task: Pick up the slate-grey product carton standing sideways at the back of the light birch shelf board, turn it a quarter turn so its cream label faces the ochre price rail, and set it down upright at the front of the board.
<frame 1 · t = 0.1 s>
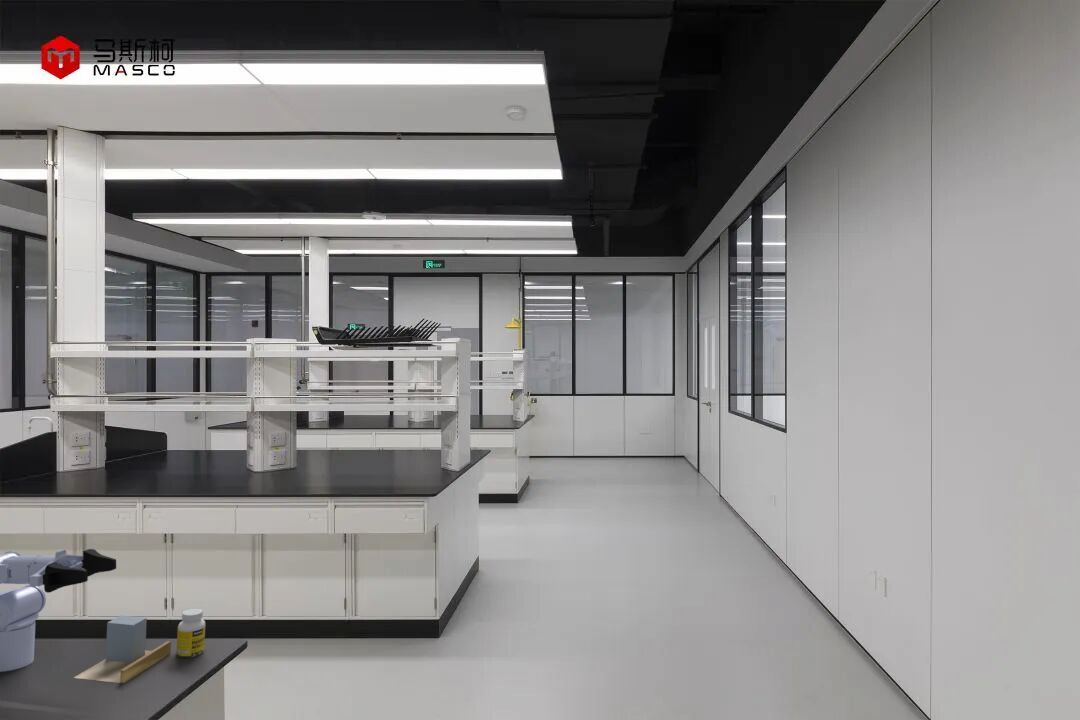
hand: (101, 570, 137), 22 cm above the table, tool horizontal, fingers open, 7 cm apart
supplement bottle: (190, 657, 148), on the table
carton: (125, 657, 144), point 1 cm above the table, touching shelf board
shelf board: (123, 668, 141), on the table
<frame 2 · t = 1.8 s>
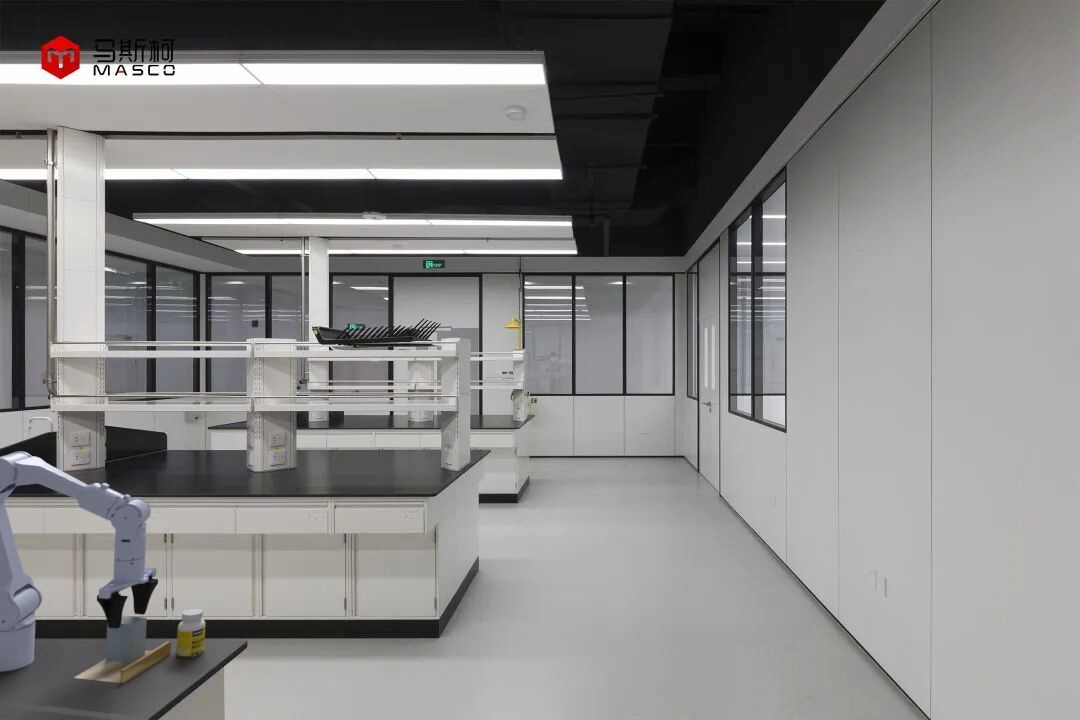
hand: (127, 620, 144), 9 cm above the table, tool pointing down, fingers open, 7 cm apart
nothing on the table moved.
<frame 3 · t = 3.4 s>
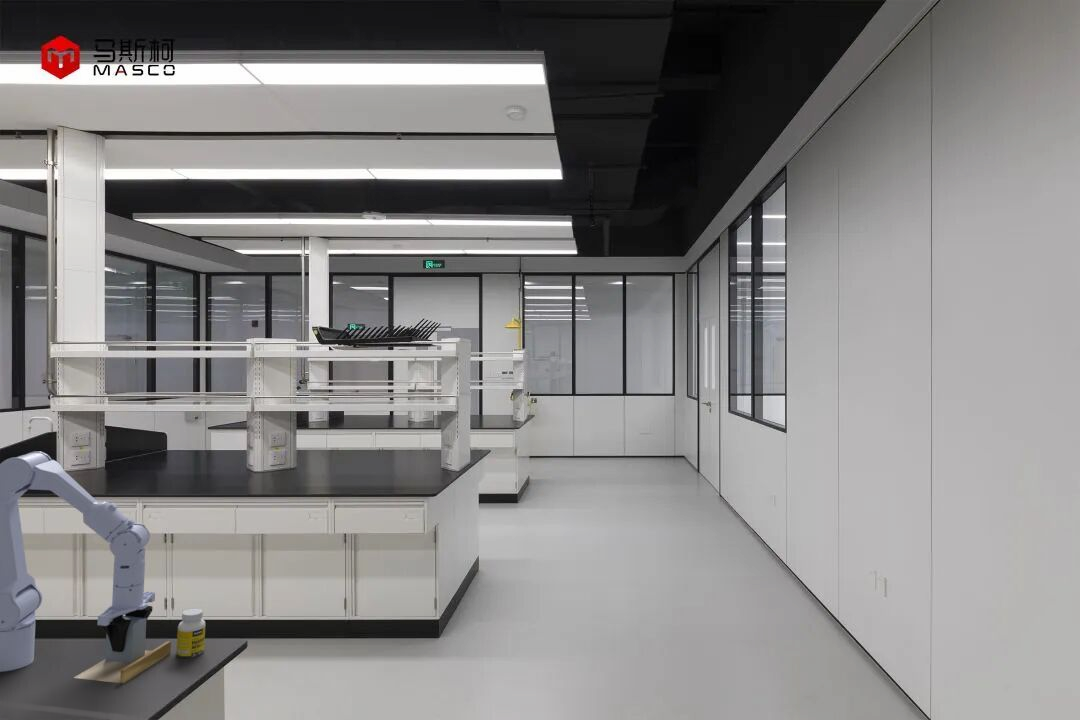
hand: (126, 646, 144), 3 cm above the table, tool pointing down, fingers closed on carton, 4 cm apart
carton: (125, 657, 144), point 1 cm above the table, touching gripper
everything else where it was.
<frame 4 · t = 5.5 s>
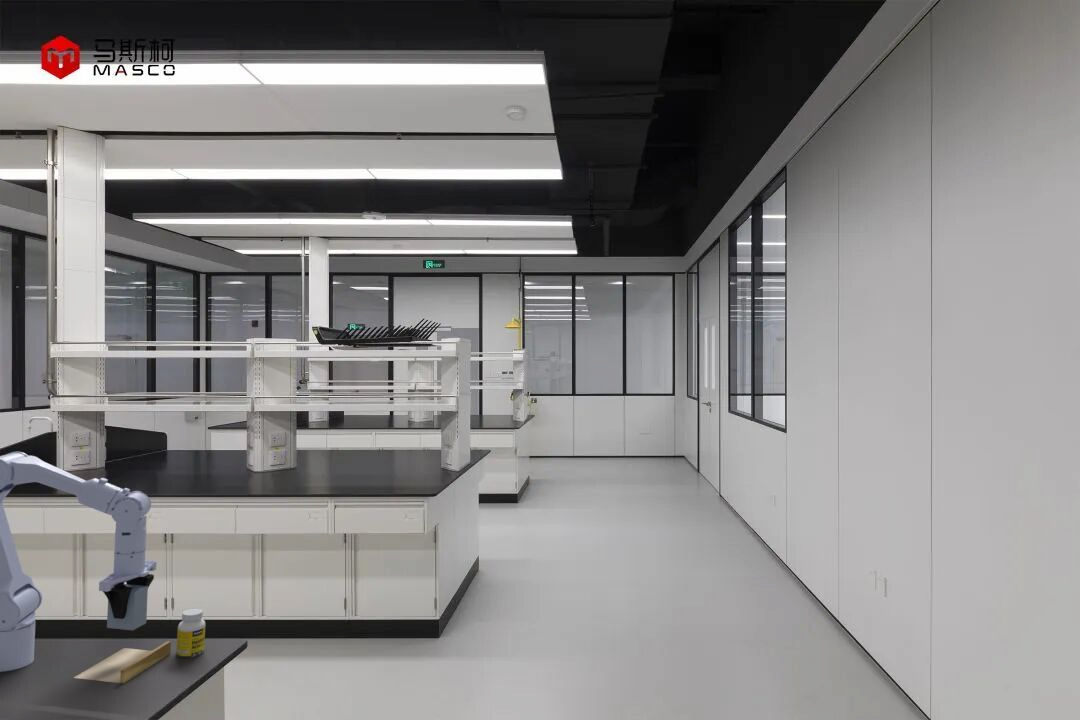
hand: (127, 613, 144), 10 cm above the table, tool pointing down, fingers closed on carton, 4 cm apart
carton: (126, 625, 144), point 8 cm above the table, touching gripper
everything else where it was.
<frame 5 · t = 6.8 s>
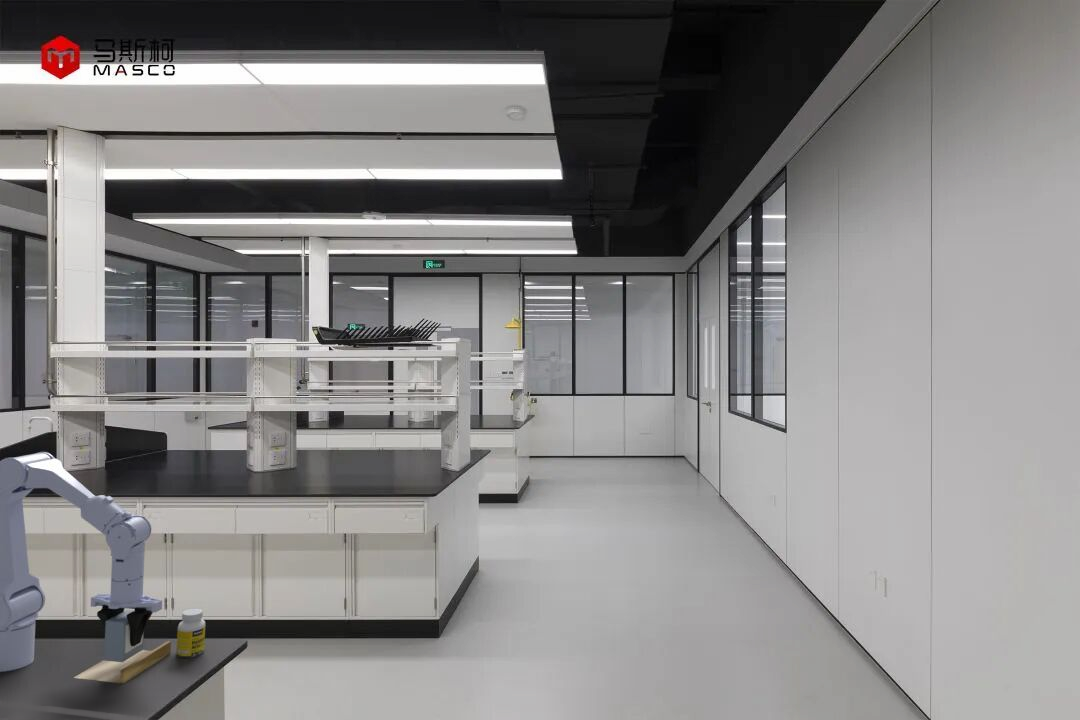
hand: (124, 643, 139), 6 cm above the table, tool pointing down, fingers closed on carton, 4 cm apart
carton: (123, 654, 139), point 4 cm above the table, touching gripper
everything else where it was.
when the fingers open (5 cm above the table, at t = 7.9 s): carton drops 1 cm, resting on shelf board.
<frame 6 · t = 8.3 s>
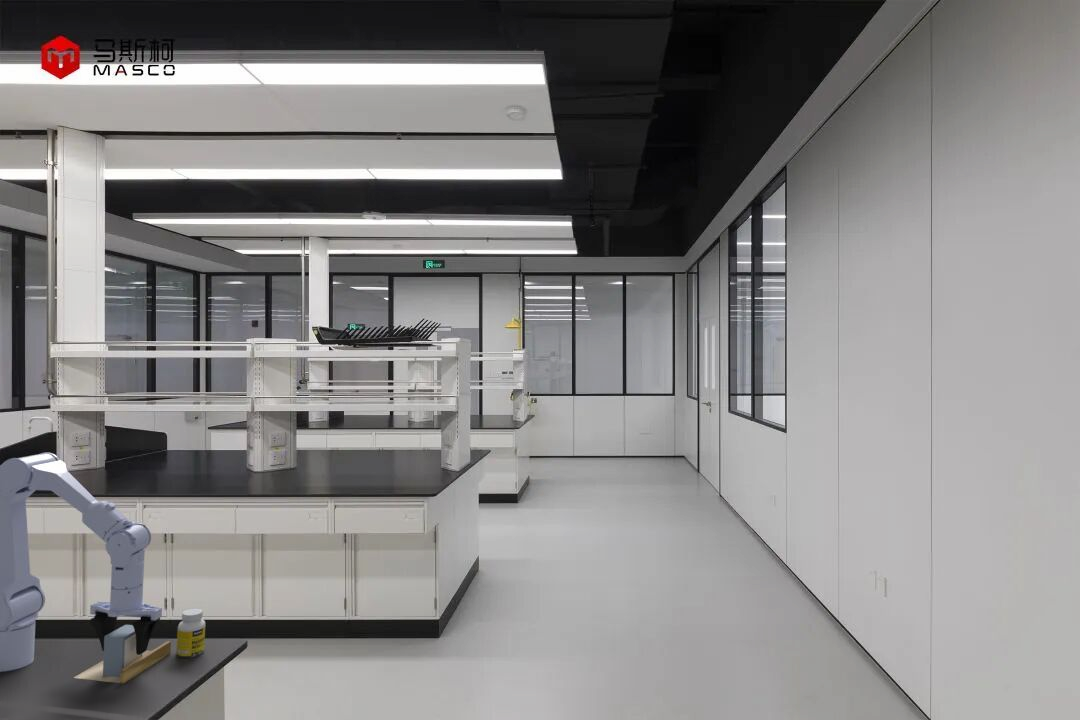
hand: (124, 650, 139), 5 cm above the table, tool pointing down, fingers open, 7 cm apart
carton: (122, 669, 139), point 1 cm above the table, touching shelf board
everything else where it was.
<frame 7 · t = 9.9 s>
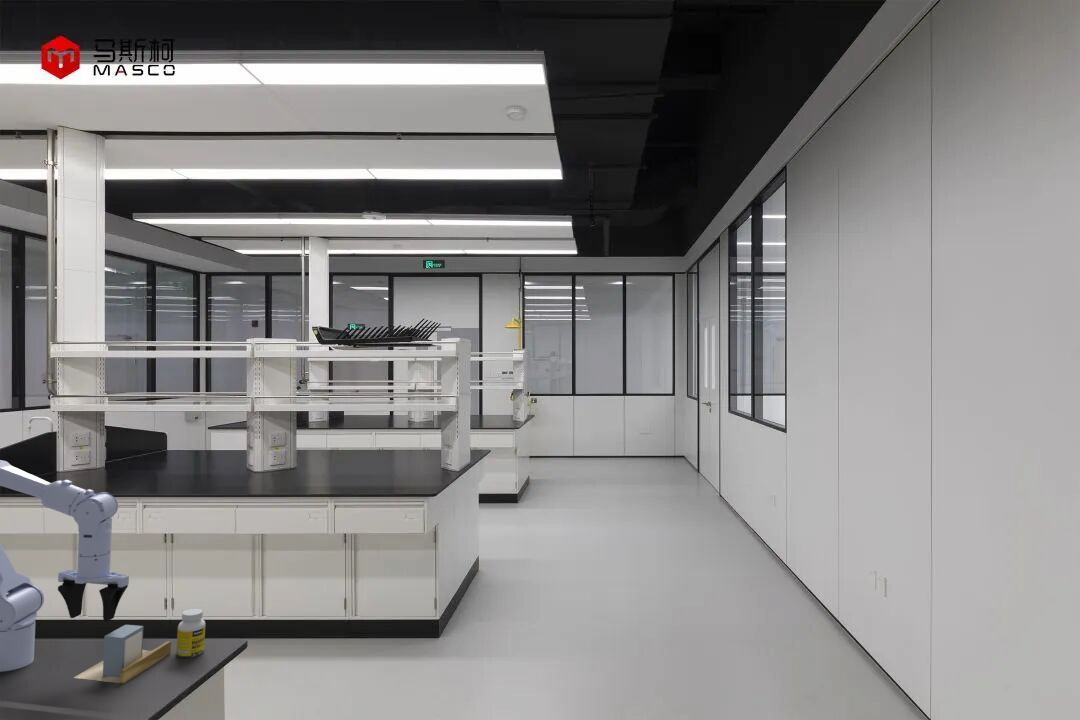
hand: (92, 617, 141), 10 cm above the table, tool pointing down, fingers open, 7 cm apart
nothing on the table moved.
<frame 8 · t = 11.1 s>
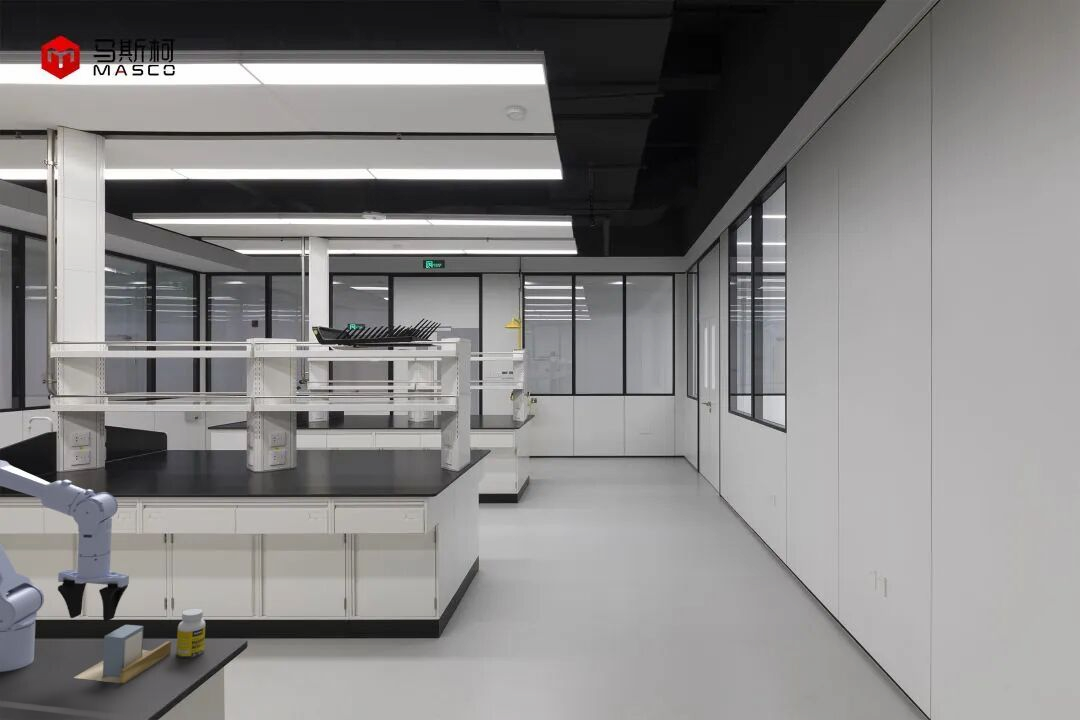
hand: (92, 617, 141), 10 cm above the table, tool pointing down, fingers open, 7 cm apart
nothing on the table moved.
at the end: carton 0.2 cm from the target spot, point 0.8 cm above the table; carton tilted 0°; the gripper is holding nothing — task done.
